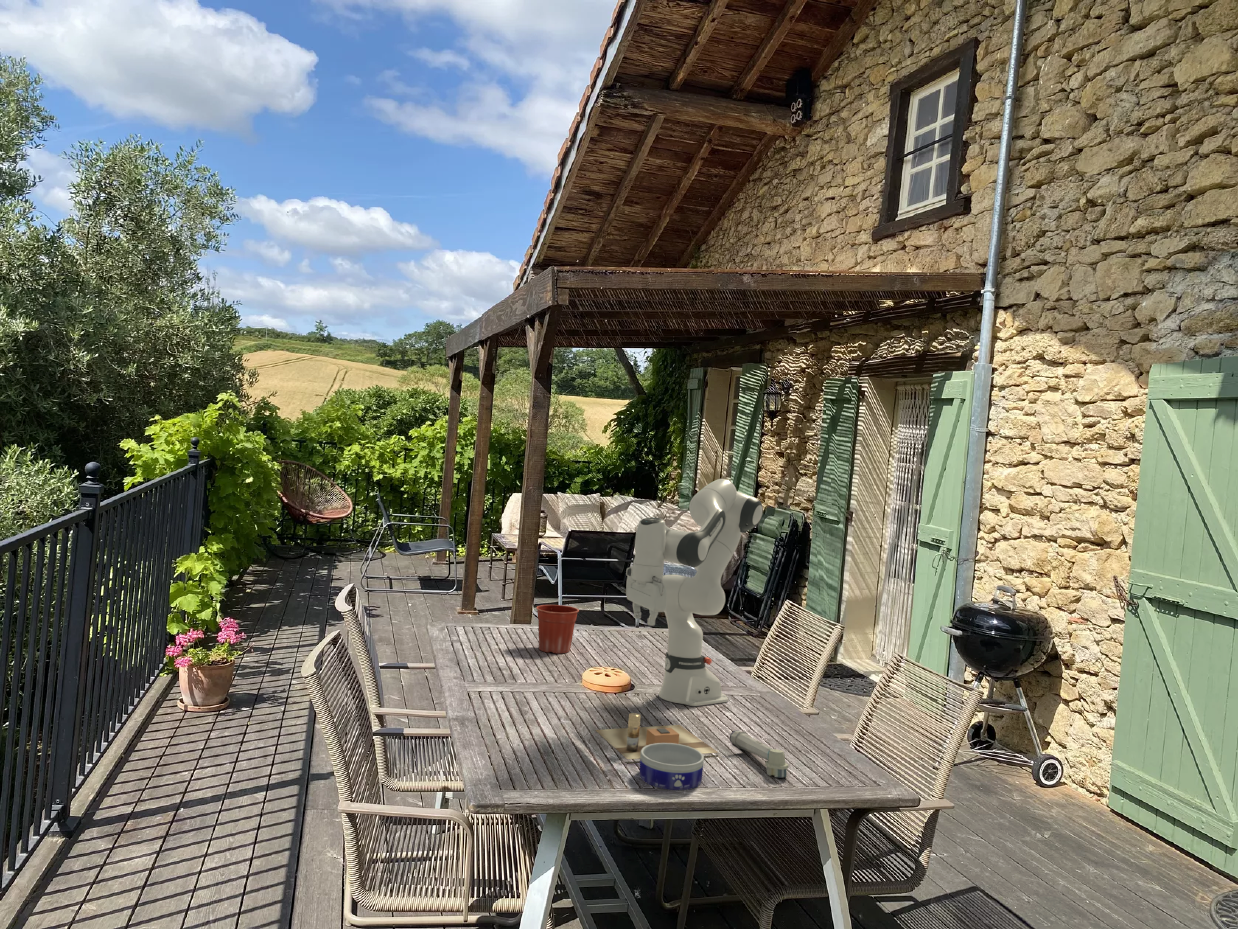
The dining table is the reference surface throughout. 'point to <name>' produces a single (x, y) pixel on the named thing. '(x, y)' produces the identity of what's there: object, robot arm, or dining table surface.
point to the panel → (620, 741)
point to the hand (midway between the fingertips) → (643, 621)
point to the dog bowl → (671, 766)
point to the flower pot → (556, 627)
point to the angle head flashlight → (761, 753)
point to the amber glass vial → (633, 732)
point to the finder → (662, 736)
